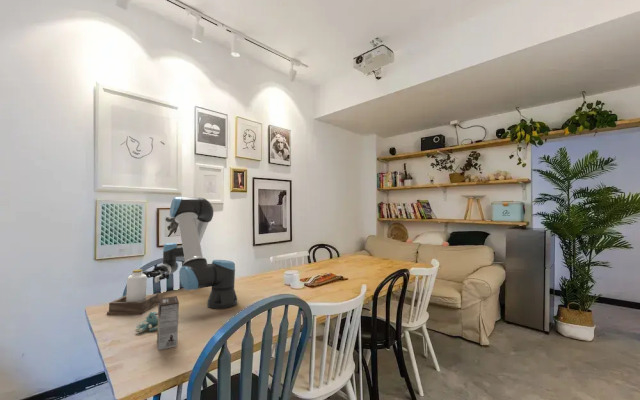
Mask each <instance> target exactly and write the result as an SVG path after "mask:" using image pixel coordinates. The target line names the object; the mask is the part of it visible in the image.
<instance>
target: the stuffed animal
mask: <svg viewBox="0 0 640 400" xmlns="http://www.w3.org/2000/svg"><path fill="white" fill-rule="evenodd" d="M147 329H149V330H148V331H149V332H156V331H157V329H158V311H153V312H152V311H150V312H149V314H147V316H146V317H145V320H142V321H141V322H139V323H137V325H136V328H135V329H134V331H135V332H136V333H140V334H142V333H143V332H144V331H145V330H147Z"/></svg>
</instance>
